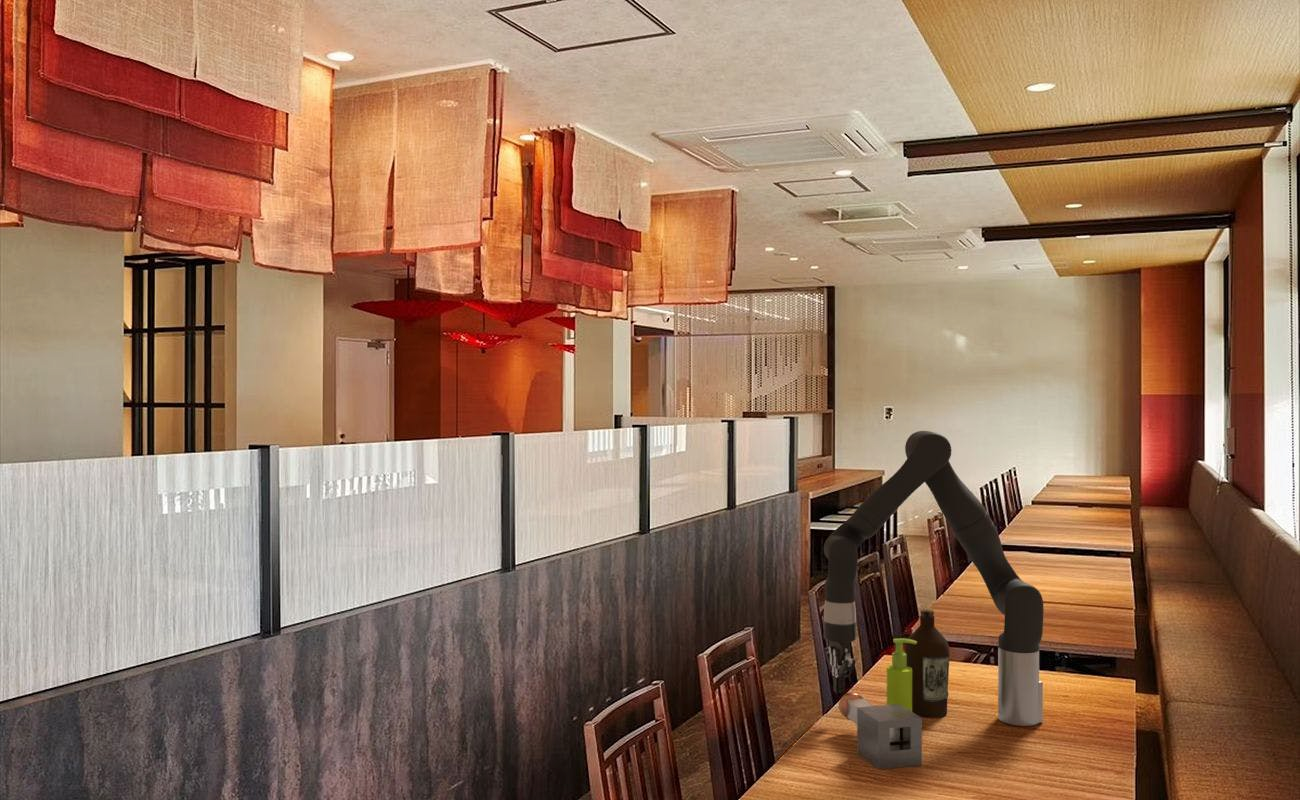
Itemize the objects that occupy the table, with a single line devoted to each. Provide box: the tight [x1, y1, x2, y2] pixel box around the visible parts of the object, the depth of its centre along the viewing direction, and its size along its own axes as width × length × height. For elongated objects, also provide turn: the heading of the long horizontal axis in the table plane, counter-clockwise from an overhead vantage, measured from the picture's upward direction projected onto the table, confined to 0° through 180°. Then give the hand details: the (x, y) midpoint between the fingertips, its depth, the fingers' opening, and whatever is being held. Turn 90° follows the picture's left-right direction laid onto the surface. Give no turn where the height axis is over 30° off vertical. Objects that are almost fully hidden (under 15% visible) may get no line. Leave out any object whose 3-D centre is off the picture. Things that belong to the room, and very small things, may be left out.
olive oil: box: [904, 609, 951, 719], centre depth 255 cm, size 11×11×25 cm
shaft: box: [838, 691, 900, 742], centre depth 231 cm, size 6×20×6 cm, turn 14°
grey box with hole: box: [856, 704, 923, 771], centre depth 222 cm, size 10×10×10 cm
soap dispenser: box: [886, 637, 917, 712], centre depth 246 cm, size 6×7×20 cm
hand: (839, 692), depth 247 cm, fingers closed
